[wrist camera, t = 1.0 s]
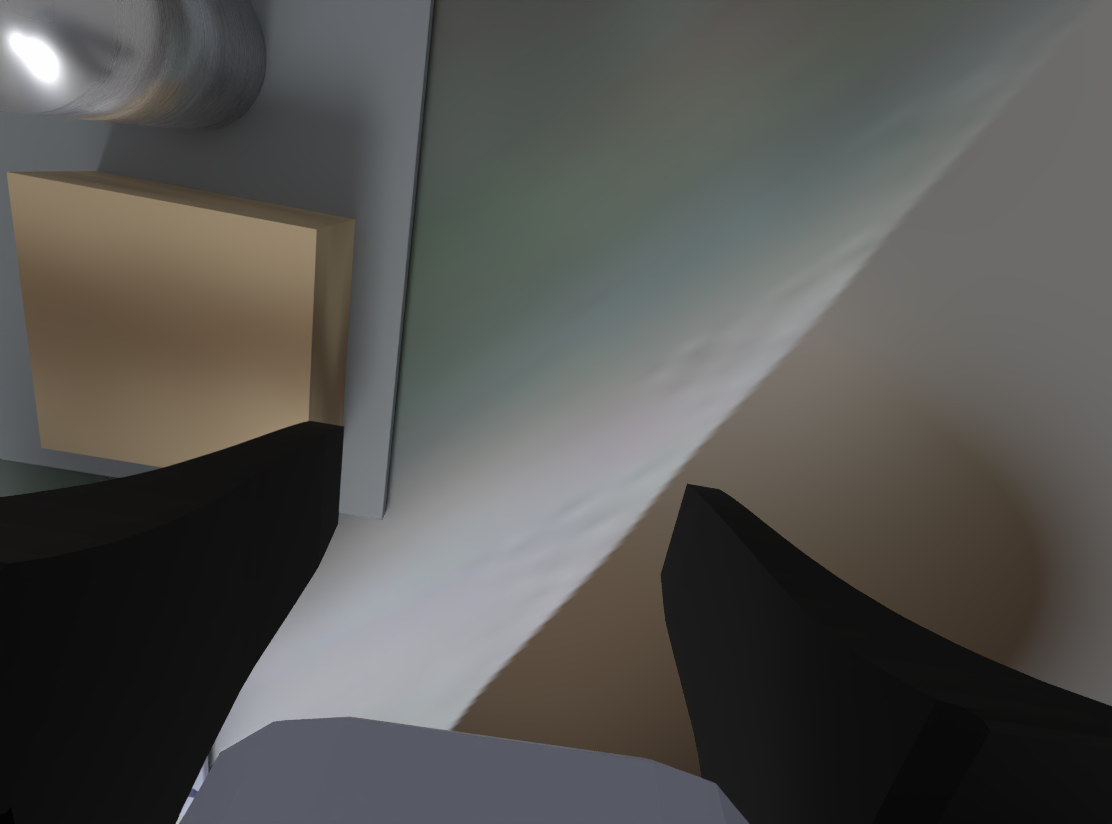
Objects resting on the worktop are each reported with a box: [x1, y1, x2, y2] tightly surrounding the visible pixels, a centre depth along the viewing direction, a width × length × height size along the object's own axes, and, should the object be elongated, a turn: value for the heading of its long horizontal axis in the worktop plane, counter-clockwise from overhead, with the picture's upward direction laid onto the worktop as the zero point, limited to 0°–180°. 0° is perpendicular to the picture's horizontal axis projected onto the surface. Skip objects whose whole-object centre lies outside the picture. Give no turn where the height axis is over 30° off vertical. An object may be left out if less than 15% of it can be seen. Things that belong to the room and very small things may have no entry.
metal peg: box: [0, 0, 266, 131], centre depth 13 cm, size 4×4×6 cm
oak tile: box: [7, 171, 355, 467], centre depth 17 cm, size 7×7×3 cm
